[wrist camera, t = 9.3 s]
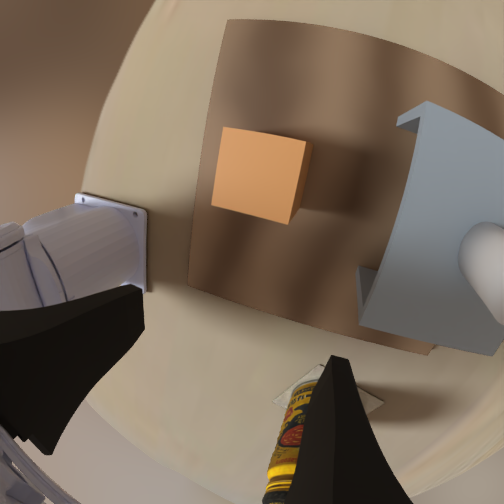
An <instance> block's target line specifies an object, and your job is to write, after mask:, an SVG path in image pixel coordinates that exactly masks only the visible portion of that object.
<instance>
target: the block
mask: <svg viewBox="0 0 504 504" xmlns="http://www.w3.org/2000/svg"><path fill="white" fill-rule="evenodd" d="M313 145H314V144H312V143H309V142H306V141H301V140H297V139H292V138H287V137H282V136H277V135H272V134H266V133H261V132H255V131H249V130H242V129H235V128H228V127H223V131H222V137H221V143H220V149H219V155H218V162H217V168H216V175H215V182H214V189H213V196H212V203H211V205H213V206H217V207H221V208H225V209H229V210H233V211H237V212H241V213H245V214H249V215H253V216H257V217H260V218H264V219H268V220H272V221H276V222H279V223H283V224H287V225H288V224H289V223H290V221H291V220H292V218H293V217H294V216H295V214H296V213H297V211H298V210H299V208H300V204H301V200H302V196H303V191H304V187H305V182H306V178H307V173H308V169H309V164H310V159H311V155H312V150H313Z"/></svg>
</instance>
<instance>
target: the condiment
mask: <svg viewBox="0 0 504 504" xmlns="http://www.w3.org/2000/svg"><path fill="white" fill-rule="evenodd" d="M324 368H325V367H323V366H321V365H318V366H316V367H315V368H314V369H313V370H311V371H310V372H309V373H308V374H306V375H305V376H304V377H302V378H301V379H300V380H299V381H297V382H296V383H295V384H294V385H292V386H291V387H290V388H289V389H287V390H286V391H285V392H284V393H282V394H281V395H280V396H279V397H277V398H276V399H275V400H273V401H272V402H273V403H275V404H277V405H279V406H281V407H283V408H285V409H287V411H286V413H285V418H284V421H283V424H282V426H281V431H280V434H279V437H278V438H277V444H276V447H275V451H274V452H273V454H272V457H271V462H270V464H269V468H268V471H267V475H268V478H269V481H270V482H269V483H268V484H267V487H266V493H265V495H264V497H263V499H262V502H263V504H284V501H285V499H286V496H287V493H288V490H289V488H290V485H291V482H292V479H293V476H294V472H295V468H296V463H297V458H298V453H299V448H300V443H301V437H302V432H303V426H304V420H305V415H306V412H307V408H308V404H309V401H310V397H311V394H312V391H313V389H314V387H315V385H316V384H317V382H318V380H319V378H320V376H321V374H322V372H323V370H324ZM357 389H358V392H359V395H360V398H361V401H362V404H363V407H364V409H365V412H366V415H367V414H368V413H370V412H371V411H373V410H374V409H376V408H378V407H379V406H381V405H382V404H384V403H385V402H383V401H381V400H379V399H377V398H376V397H374V396H371V395H370V394H368V393H367V392H364V391H363V390H361V389H360V388H358V387H357Z"/></svg>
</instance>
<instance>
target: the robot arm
mask: <svg viewBox="0 0 504 504" xmlns="http://www.w3.org/2000/svg"><path fill="white" fill-rule="evenodd" d="M136 212H137V215H138V216H137V215H136ZM146 232H147V213H146V211H145V210H144V209H141V208H137V207H133V206H130V205H126V204H122V203H118V202H114V201H110V200H107V199H103V198H99V197H95V196H91V195H87V194H83V193H77V194H76V195H75V203H74V204H71V205H68V206H65V207H62V208H59V209H56V210H53V211H50V212H48V213H45V214H42V215H39V216H36V217H34V218H32V219H30V220H28V221H27V222H26V223H25V224H24V225H23V226H19V225H18V224H17V223H15V222H9V223H5V224H2V225H0V504H46V503H45V502H44V500H45V496H46V497H47V498H49V499H50V500H51V501H52V502H53V503H54V504H81V503H79V502H78V501H77V500H75V499H74V498H73V497H71V496H70V495H69V494H68V493H67V492H66V491H64V490H63V489H62V488H61V487H60V486H59V485H57V484H56V483H55V482H54V481H53V480H52V479H51V478H50V477H49V476H47V475H46V474H45V473H44V472H43V471H42V470H41V469H40V468H39V467H38V466H37V465H36V464H35V463H34V462H33V461H32V460H31V459H30V458H29V457H28V456H27V454H25V452H24V451H23V450H22V449H21V448H20V447H19V445H18V444H17V443H16V442H15V441H14V440H13V439H14V438H15V437H16V436H18V437H19V438H20V439H21V440H22V441H23V442H25V441H26V440H27V439H29V440H30V441H31V442H32V443H33V444H34V445H35V446H36V447H37V448H38V449H39V450H40V451H41V452H42V453H43V454H44V455H52V454H53V451H54V449H55V446H56V445H57V442H58V440H59V439H60V436H61V434H62V433H63V431H64V429H65V427H66V426H67V424H68V422H69V421H70V419H71V417H72V416H73V414H74V413H75V411H76V410H77V408H78V407H79V405H80V404H81V402H82V401H83V400H84V398H85V397H86V396H87V394H88V393H89V392H90V390H91V389H92V388H93V387H94V386H95V384H96V383H97V382H98V381H99V380H100V379H101V378H102V377H103V376H104V375H105V374H106V373H107V372H108V371H109V370H110V369H111V368H112V367H113V366H114V365H115V364H116V363H117V362H118V361H119V360H120V359H121V358H122V357H123V356H124V355H125V354H126V353H127V352H128V351H129V349H130V348H131V347H132V346H133V345H134V343H135V342H136V341H137V339H138V338H139V337H140V335H141V334H142V332H143V331H144V330H145V325H144V310H143V294H144V293H145V292H146ZM120 285H122V286H120ZM118 286H119V287H118ZM12 461H13V463H14V464H15V465H16V466H17V467H18V468H19V469H20V471H21V472H22V473H23V474H24V475H23V474H22V473H21V472H20V471H19V470H18V469H16V468H15V467H14V466H13V465H12ZM42 493H43V494H44V495H45V496H44V495H43V494H42ZM284 504H413V503H412V501H411V500H410V499H409V497H408V496H407V494H406V493H405V491H404V490H403V488H402V486H401V485H400V483H399V482H398V480H397V479H396V477H395V476H394V474H393V472H392V470H391V468H390V467H389V465H388V463H387V461H386V459H385V457H384V455H383V453H382V451H381V449H380V447H379V445H378V442H377V440H376V438H375V435H374V433H373V430H372V428H371V426H370V423H369V420H368V418H367V415H366V412H365V409H364V407H363V404H362V401H361V398H360V395H359V392H358V389H357V385H356V382H355V379H354V376H353V372H352V369H351V365H350V362H349V360H348V359H345V358H341V357H337V356H333V355H331V357H330V359H329V361H328V363H327V364H326V366H325V368H324V370H323V372H322V374H321V376H320V378H319V380H318V382H317V384H316V385H315V387H314V389H313V391H312V394H311V397H310V401H309V404H308V408H307V412H306V415H305V420H304V426H303V432H302V437H301V443H300V448H299V453H298V458H297V463H296V468H295V472H294V476H293V479H292V482H291V485H290V488H289V490H288V493H287V496H286V499H285V501H284Z"/></svg>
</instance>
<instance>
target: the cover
mask: <svg viewBox="0 0 504 504" xmlns="http://www.w3.org/2000/svg"><path fill="white" fill-rule="evenodd" d="M396 127H399V128H402V129H405V130H408V131H410V132H413V133H416V134H417V139H416V144H415V149H414V153H413V158H412V162H411V167H410V171H409V175H408V179H407V183H406V186H405V190H404V194H403V197H402V201H401V204H400V208H399V211H398V214H397V218H396V221H395V224H394V227H393V230H392V233H391V236H390V239H389V242H388V245H387V248H386V251H385V254H384V256H383V259H382V262H381V264H380V267H379V270H378V271H375V270H372V269H369V268H365V267H362V266H359V265H358V268H357V270H356V273H355V276H356V288H357V302H358V320H359V325H361V326H364V327H368V328H372V329H376V330H380V331H383V332H387V333H391V334H395V335H399V336H403V337H407V338H411V339H415V340H419V341H424V342H428V343H432V344H436V345H441V346H445V347H450V348H454V349H459V350H463V351H468V352H473V353H478V354H483V355H488V356H493V355H494V353H495V352H496V350H497V349H498V347H499V346H500V344H501V343H502V341H503V340H504V140H503V139H501V138H500V137H498V136H496V135H495V134H493V133H491V132H490V131H488V130H486V129H485V128H483V127H481V126H479V125H477V124H475V123H474V122H472V121H470V120H468V119H466V118H464V117H462V116H460V115H458V114H456V113H454V112H452V111H450V110H447V109H445V108H443V107H441V106H438V105H436V104H434V103H431V102H429V101H425V102H424V103H422V104H420V105H418V106H416V107H415V108H413V109H411V110H409V111H408V112H406V113H404V114H402V115H401V116H399V117H398V120H397V125H396Z"/></svg>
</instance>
